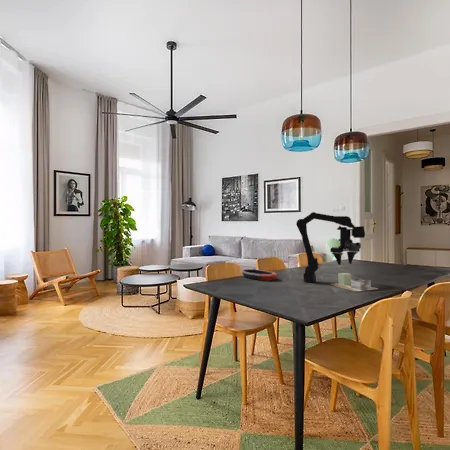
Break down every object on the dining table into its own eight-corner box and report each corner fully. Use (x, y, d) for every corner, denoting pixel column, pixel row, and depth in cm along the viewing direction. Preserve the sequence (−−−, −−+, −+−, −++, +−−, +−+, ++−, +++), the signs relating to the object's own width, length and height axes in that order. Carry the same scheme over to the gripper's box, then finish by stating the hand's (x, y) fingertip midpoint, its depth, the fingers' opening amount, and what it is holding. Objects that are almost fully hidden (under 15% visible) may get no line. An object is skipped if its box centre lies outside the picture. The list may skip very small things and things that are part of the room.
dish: (252, 274, 227) (252, 267, 227) (284, 280, 202) (284, 272, 202) (235, 276, 218) (235, 269, 218) (267, 283, 193) (266, 275, 193)
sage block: (344, 285, 180) (344, 274, 180) (338, 283, 185) (338, 273, 185) (351, 284, 182) (351, 274, 182) (345, 283, 186) (345, 272, 186)
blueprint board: (355, 293, 164) (355, 282, 164) (329, 285, 183) (329, 276, 183) (379, 290, 169) (379, 280, 169) (352, 283, 189) (352, 274, 189)
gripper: (345, 238, 174) (345, 267, 174) (367, 238, 183) (367, 264, 183) (329, 237, 184) (329, 264, 184) (351, 237, 193) (351, 262, 193)
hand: (345, 264), depth 186 cm, fingers open, 9 cm apart
